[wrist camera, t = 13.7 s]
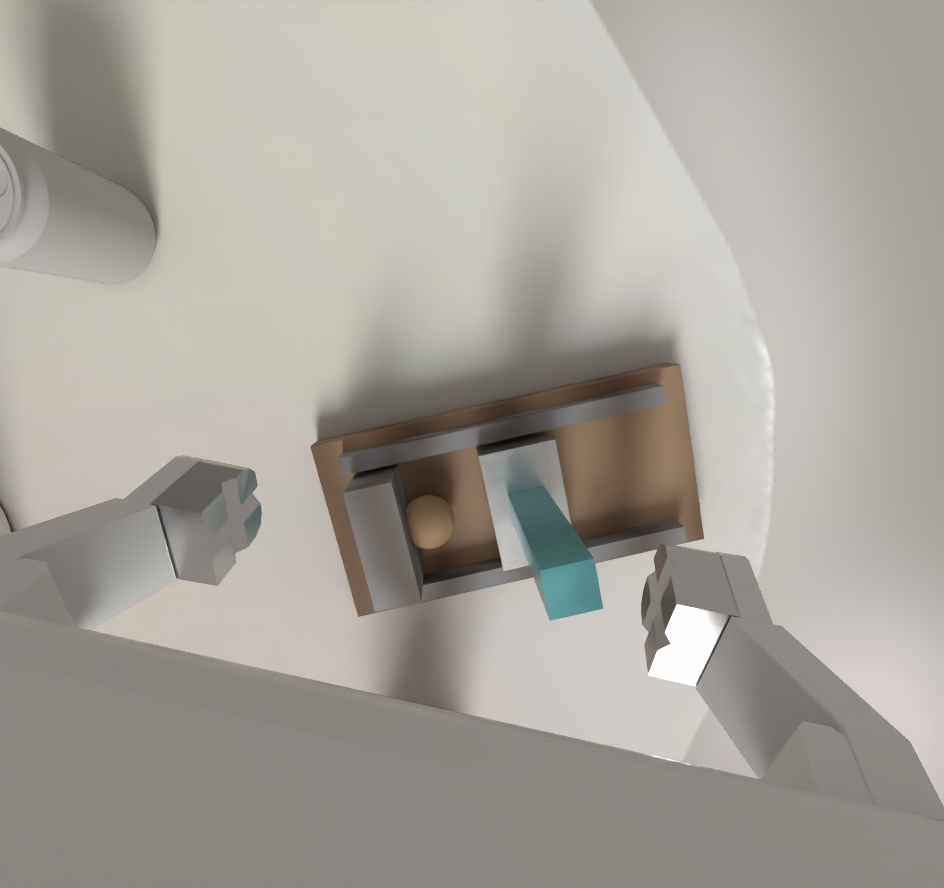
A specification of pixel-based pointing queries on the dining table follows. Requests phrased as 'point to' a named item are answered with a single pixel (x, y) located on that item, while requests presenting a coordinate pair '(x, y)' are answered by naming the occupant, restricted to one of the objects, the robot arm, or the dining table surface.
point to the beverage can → (68, 218)
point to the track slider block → (538, 523)
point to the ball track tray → (464, 498)
